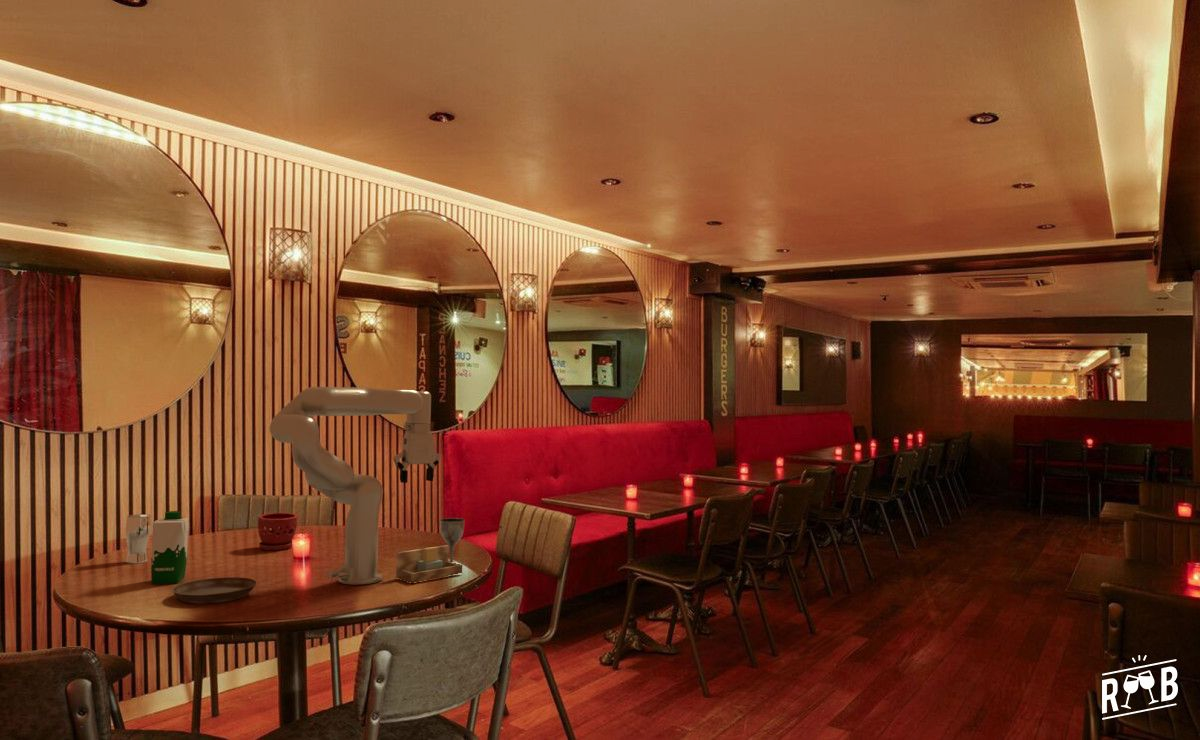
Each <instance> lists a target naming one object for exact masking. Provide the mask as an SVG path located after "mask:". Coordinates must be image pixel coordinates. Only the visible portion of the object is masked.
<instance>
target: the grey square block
mask: <svg viewBox="0 0 1200 740" xmlns="http://www.w3.org/2000/svg"><path fill="white" fill-rule="evenodd" d="M422 549H423V560H421V561H417V572H422V571H428V570H433V569H439V568H443V561H442V560H438V548H437V546H431V547H425V548H422Z"/></svg>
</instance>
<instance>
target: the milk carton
mask: <svg viewBox="0 0 1200 740" xmlns="http://www.w3.org/2000/svg"><path fill="white" fill-rule="evenodd" d="M164 515H165V516H164V518H159V519H157V520H155V521H153V522H152V540H151V556H150V557H151V558H150V559H151V560H150V561H151V562H150V563H151V564H150V567H151V568H150V570H151V572H150V574H151V575H150V579H151V580H150V582H151V585H167V584H168V585H169V584H170V585H171V584H173V585H174V584H179V583H180V582H181V581H183V580H184V579H185V576H186V569H187V562H188V561H187V559H188V541H189V540H188V539H189V537H188V536H189V517H182V516H181V515H182V512H181V511H178V510H173V511H172V510H169V511H166V512H165V513H164Z"/></svg>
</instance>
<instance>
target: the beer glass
mask: <svg viewBox="0 0 1200 740" xmlns="http://www.w3.org/2000/svg"><path fill="white" fill-rule="evenodd" d="M151 526H152V525H151V515H150V514H146V513H145V514H144V513H143V514H130V515H127V516H126V523H125V540H126V548H127V554H126V558H125V563H126V564H129V565H130V564H131V565H132V564H135V565H136V564H141V563H143V564H144V563H146V562H148V555H147V551H148V550H147V549H148V544H149V539H150V536H151V535H150V534H151Z"/></svg>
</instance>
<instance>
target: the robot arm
mask: <svg viewBox="0 0 1200 740" xmlns="http://www.w3.org/2000/svg"><path fill="white" fill-rule="evenodd" d="M431 407H432V394H431V393H430V392H429V391H422V390H420V391H419V390H417V391H416V390H414V389H381V388H373V387H350V386H349V387H345V386H342V387H341V386H340V387H338V386H311V387H307V388H306V389H303V390H302V391H301V392H299V393H298V394H297V395H296V396H295V397H294V398H293V399H292V400H290V401H289V402H288V403H287V404H286V405H285V406H283V408H281V410H280V411H279V412H277V413H276V415H274V417H273V418H272V419H271V422H270V424H269V432H270V435H271V436H272V438H273V439H274V440H276V441H278V443H279V442H280V443H285V444H291V455H292V459H293V462H294V464H295V466H296V467H297V468H298V469H299V470H301V471H302V472H303V473H304V477H305V480H306V483H307V484H308V486H310V487H311V488H313V489H314V490H316V491H318V492H319V493H321V494H323V495H325V496H326V497H328V498H329V499H332V500H333V501H335V502H337V503H340V504H344V505H348V506H350V507H349V510H348V512H347V514H346V520H345V538H344V539H345V540H344V541H345V542H344V565H341V566H340V568H339V569H338V570H329V571H328V578H330V579H332V578H338V582H339V583H341V584H344V585H353V586H356V585H357V586H358V585H371V584H374V583H379V582H380V581H381V580H383V575H382V574H381V573H379V572H378V559H379V558H378V551H379V549H378V548H379V526H380V525H379V523H380V522H379V521H380V520H379V518H380V510H381V504H382V501H383V494H384V490H383V485H382V483H381V481H380V480H379V479H377V477H375V476H372V475H366V474H361V473H360V474H359V473H358V474H357V473H355V471H354V470H353V468H352V466H351V465H350V464H349V463H348V462H346V461H345V460H344V459H341V458H339V457H338V456H336V455H335V454H333V453H331V452H330V451H329V450H327V449H326V448H325V447H323V446H322V445H321V441H320V428H319V424H318V422H317V420H316V419H315V418H314V417H315V416H323V417H340V416H341V417H342V416H349V417H350V416H357V417H359V416H378V415H379V416H380V415H406V425H404V426H403V430H405V431H406V432H405V433H404V435H403V440H402V445H401V446H402V447H401V451H400V452H399V453H397V454H396V455H393V457H392V460H393V461H394V464H395V466H396V468H397V469H398V470H399V481H400V483H402V484H407V483H408V478H409V477H408V473H409V471H408V470H407V469H408V468H409V466H410V465H426V467H427V468H426V471H425V480H426V481H427V482H433V481H434V474H435V473H434V472H435V471H434V470H435V469H436V467H437V465H438V464H439V462H440V459H441V457H442V455H441V454H440V453H438V452H437V451H435V441H434V435H433V433H431V419H432V418H431V415H432V413H431V412H432V410H431V409H432V408H431ZM400 460H401V461H400Z"/></svg>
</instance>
